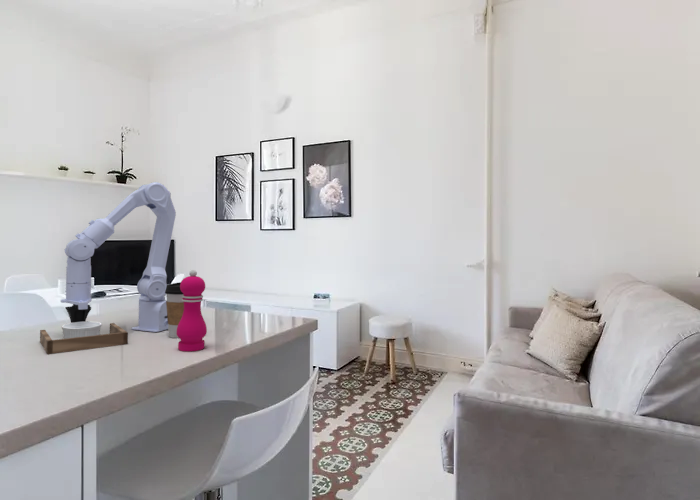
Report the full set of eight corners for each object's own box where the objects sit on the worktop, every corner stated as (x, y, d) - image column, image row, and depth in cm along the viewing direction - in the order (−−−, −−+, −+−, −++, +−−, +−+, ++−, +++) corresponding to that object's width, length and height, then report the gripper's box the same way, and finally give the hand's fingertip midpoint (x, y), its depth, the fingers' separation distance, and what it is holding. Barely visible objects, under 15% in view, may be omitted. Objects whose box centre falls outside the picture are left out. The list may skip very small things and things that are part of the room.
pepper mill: (181, 344, 109) (183, 268, 109) (209, 345, 110) (211, 269, 110) (171, 352, 102) (173, 270, 102) (202, 352, 103) (204, 271, 102)
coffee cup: (202, 334, 122) (203, 283, 122) (181, 340, 114) (182, 285, 114) (178, 331, 125) (179, 281, 124) (157, 337, 117) (158, 283, 116)
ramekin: (108, 339, 113) (109, 323, 113) (75, 346, 105) (75, 329, 104) (87, 335, 116) (87, 320, 116) (53, 342, 108) (54, 325, 108)
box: (40, 341, 108) (40, 330, 108) (113, 333, 120) (113, 323, 120) (47, 354, 97) (47, 341, 97) (127, 343, 109) (127, 332, 108)
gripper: (57, 281, 117) (56, 329, 118) (65, 286, 106) (64, 339, 107) (86, 280, 122) (85, 326, 122) (97, 284, 111) (96, 335, 111)
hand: (77, 332), depth 115 cm, fingers closed
